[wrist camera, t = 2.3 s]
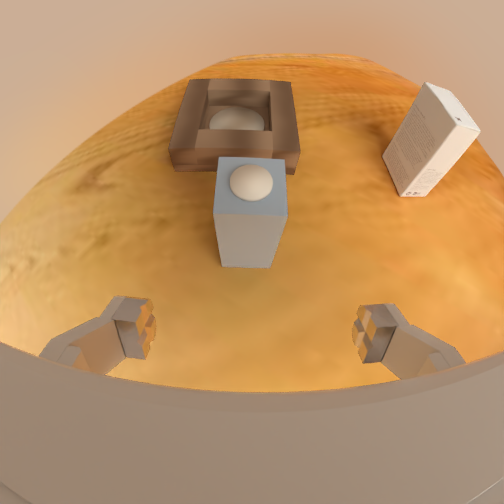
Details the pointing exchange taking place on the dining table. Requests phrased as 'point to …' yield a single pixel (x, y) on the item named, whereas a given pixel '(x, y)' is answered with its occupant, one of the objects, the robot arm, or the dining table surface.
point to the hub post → (249, 210)
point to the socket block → (234, 123)
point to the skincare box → (428, 141)
